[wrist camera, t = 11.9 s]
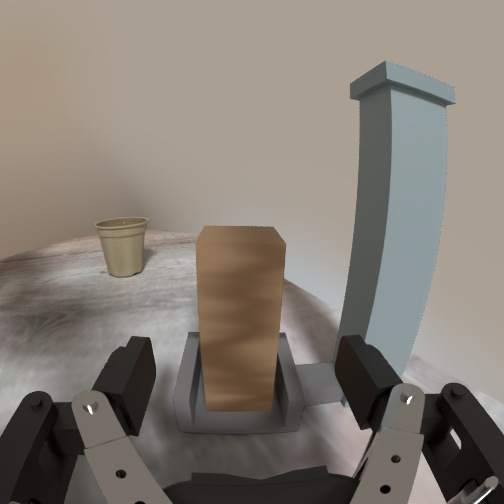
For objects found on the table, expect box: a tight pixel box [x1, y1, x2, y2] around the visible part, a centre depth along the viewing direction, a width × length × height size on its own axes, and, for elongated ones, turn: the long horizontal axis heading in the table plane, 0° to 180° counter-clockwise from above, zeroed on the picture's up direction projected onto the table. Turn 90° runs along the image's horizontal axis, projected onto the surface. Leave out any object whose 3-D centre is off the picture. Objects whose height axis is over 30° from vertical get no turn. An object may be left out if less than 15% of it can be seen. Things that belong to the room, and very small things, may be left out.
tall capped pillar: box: [173, 61, 455, 434], centre depth 17 cm, size 17×8×23 cm, turn 93°
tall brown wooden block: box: [196, 226, 286, 412], centre depth 18 cm, size 4×4×12 cm
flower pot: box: [94, 217, 149, 277], centre depth 43 cm, size 9×9×9 cm
